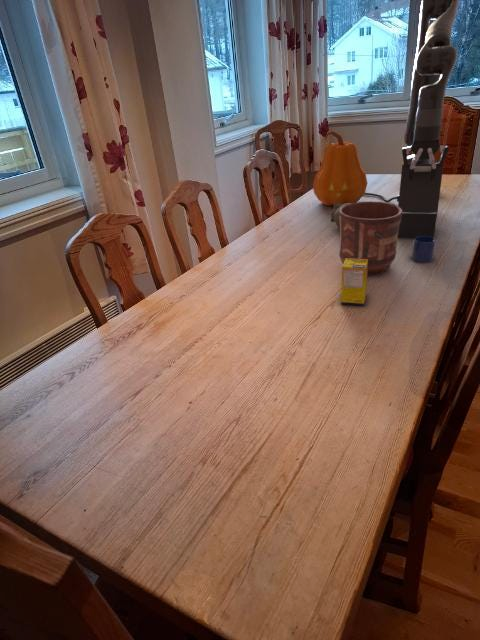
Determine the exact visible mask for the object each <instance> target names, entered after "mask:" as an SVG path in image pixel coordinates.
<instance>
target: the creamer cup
mask: <svg viewBox="0 0 480 640" xmlns="http://www.w3.org/2000/svg"><path fill="white" fill-rule="evenodd" d="M435 247H436V238H435V237H434V238H433V237H430V236H417V237H415V238H413V245H412V254H411V260H412V261H414V262H416V263H424V264H425V263H430V262H432V261H433V258H434V253H435Z"/></svg>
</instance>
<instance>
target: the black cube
mask: <svg viewBox="0 0 480 640" xmlns="http://www.w3.org/2000/svg"><path fill="white" fill-rule="evenodd" d="M437 218H438V212H402V218H401V222H400V226H399V232H398V237H397V239H414V238H415V237H417V236H430V237H433V238H435V232H436V227H437V226H436V225H437Z"/></svg>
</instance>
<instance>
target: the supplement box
mask: <svg viewBox="0 0 480 640" xmlns="http://www.w3.org/2000/svg"><path fill="white" fill-rule="evenodd" d="M367 269H368V259H350V258H345V261H344V264H343V263H342V267H341V295H340V304H341V305H346V306H347V305H348V306H360V307H364V306H365V303H366V302H365V301H366V297H367V287H368V286H367V285H368V275H367Z"/></svg>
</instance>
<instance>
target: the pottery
mask: <svg viewBox="0 0 480 640" xmlns="http://www.w3.org/2000/svg"><path fill="white" fill-rule="evenodd" d="M401 218H402V209H401V208H400V207H398V205H396V204H393V203H390V202H385V201H357V202H355V203H352V204H349V205H346V206H343V207H342V208H341V209H340V210H339V219H340V229H339V245H338V246H339V250H338V251H339V253H338V254H339V260H340V261H341V263H342V265H343V264H344V261H345V258H350V259H368V269H367V276H374V275H375V276H376V275H379V274H381V273H384V272H385V271H387V269H390V267H391V265H392V263H393V262H394V260H395V259H396V255H397V247H398V238H397V237H398V232H399V226H400V222H401Z"/></svg>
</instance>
